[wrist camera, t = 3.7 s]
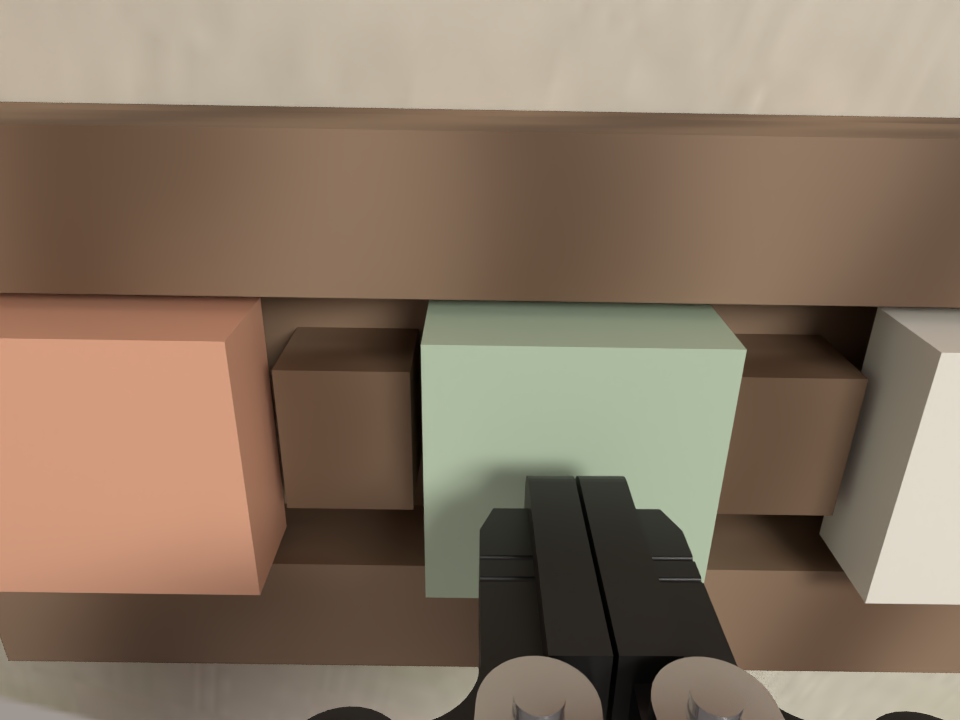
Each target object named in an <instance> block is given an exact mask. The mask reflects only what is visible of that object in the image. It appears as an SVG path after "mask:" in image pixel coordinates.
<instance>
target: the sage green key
mask: <svg viewBox="0 0 960 720" xmlns="http://www.w3.org/2000/svg"><path fill="white" fill-rule="evenodd" d="M746 351H747V349H746V348H745V347H744V346H743V344H742V343H741V342H740V341H739V339H738V338H737V337H736V336H735V335H734V333H733V332H732V331H731V330H730V328H729V327H728V326H727V325H726V323H725V322H724V321H723V320H722V318H721V317H720V316H719V315H718V314H717V312H716V311H715V310H714V309H713V307H712V306H711V305H710V304H663V303H599V302H535V301H470V300H429V304H428V309H427V314H426V320H425V325H424V330H423V336H422V341H421V383H422V434H423V486H424V537H425V589H426V597H432V598H479V537H480V528H481V527H482V525H483V524H484V522H485V520H486V519H487V517H488V516H489V514H490V513H491V511H492V509H493V508H524V500H525V482H526V476H574V478H576V476H624V477H625V478H626V481H627V483H628V486H629V489H630V492H631V496H632V499H633V502H634V505H635V508H636V509H660V510H661V511H662V512H663V513H664V514H666V515H667V516H668V517H669V518H670V519H671V520H672V521H673V522H674V523H675V524H676V525H677V526H678V527H679V528H680V529H681V530H682V531H683V533H684V536H685V538H686V541H687V543H688V546H689V548H690V551H691V553H692V555H693V561H695V563H696V565H697V568H698V570H699V573H700V575H701V582H702V583H704V580H705V575H706V570H707V564H708V559H709V553H710V548H711V542H712V537H713V531H714V526H715V521H716V515H717V510H718V504H719V499H720V493H721V488H722V482H723V477H724V471H725V466H726V461H727V455H728V450H729V444H730V439H731V433H732V428H733V422H734V417H735V411H736V406H737V401H738V395H739V390H740V384H741V379H742V373H743V368H744V362H745V357H746Z"/></svg>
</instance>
